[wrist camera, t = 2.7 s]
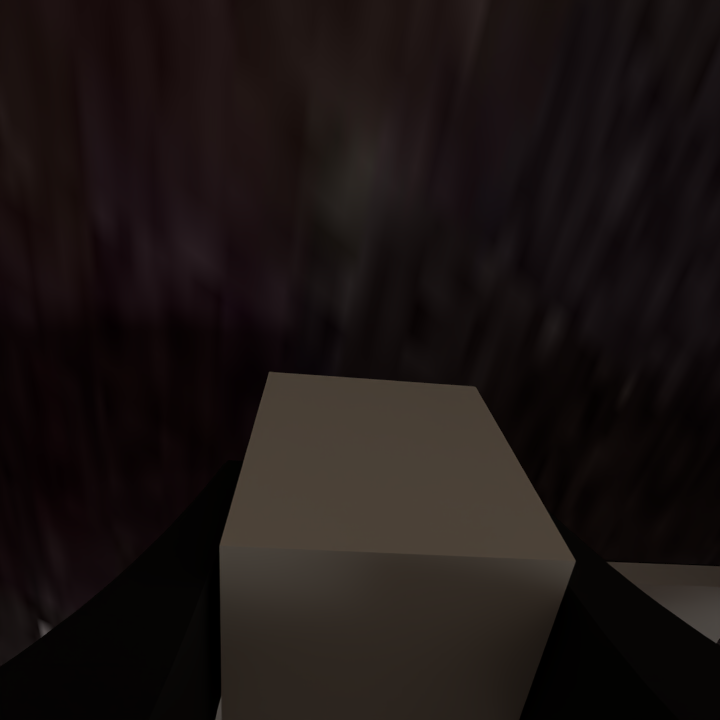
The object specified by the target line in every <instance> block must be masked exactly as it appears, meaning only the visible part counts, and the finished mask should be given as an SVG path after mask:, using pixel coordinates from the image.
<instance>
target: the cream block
mask: <svg viewBox="0 0 720 720" xmlns="http://www.w3.org/2000/svg"><path fill="white" fill-rule="evenodd" d="M219 551H220V629H221V708H222V720H519V719H520V716H521V713H522V710H523V707H524V705H525V702H526V699H527V696H528V694H529V691H530V688H531V685H532V682H533V680H534V677H535V674H536V671H537V668H538V666H539V663H540V660H541V657H542V654H543V652H544V649H545V646H546V643H547V640H548V638H549V635H550V632H551V629H552V626H553V624H554V621H555V618H556V615H557V612H558V610H559V607H560V604H561V601H562V598H563V596H564V593H565V590H566V587H567V584H568V582H569V579H570V576H571V573H572V570H573V568H574V565H575V562H576V560H575V559H574V557H573V555H572V553H571V552H570V550H569V548H568V546H567V545H566V543H565V541H564V540H563V538H562V536H561V534H560V533H559V531H558V529H557V527H556V526H555V524H554V522H553V520H552V519H551V517H550V515H549V513H548V512H547V510H546V508H545V507H544V505H543V503H542V501H541V500H540V498H539V496H538V494H537V493H536V491H535V489H534V487H533V486H532V484H531V482H530V480H529V479H528V477H527V475H526V474H525V472H524V470H523V468H522V467H521V465H520V463H519V461H518V460H517V458H516V456H515V454H514V453H513V451H512V449H511V447H510V446H509V444H508V442H507V441H506V439H505V437H504V435H503V434H502V432H501V430H500V428H499V427H498V425H497V423H496V421H495V420H494V418H493V416H492V414H491V413H490V411H489V409H488V407H487V406H486V404H485V402H484V401H483V399H482V397H481V395H480V394H479V392H478V390H477V388H476V387H473V386H459V385H445V384H431V383H417V382H403V381H389V380H375V379H361V378H347V377H333V376H319V375H305V374H291V373H277V372H269V374H268V378H267V381H266V385H265V388H264V392H263V395H262V399H261V402H260V406H259V409H258V413H257V416H256V420H255V423H254V427H253V430H252V434H251V437H250V441H249V444H248V448H247V451H246V455H245V458H244V462H243V465H242V469H241V472H240V476H239V479H238V483H237V486H236V490H235V493H234V497H233V500H232V504H231V507H230V511H229V514H228V518H227V521H226V525H225V528H224V532H223V535H222V539H221V542H220V546H219Z"/></svg>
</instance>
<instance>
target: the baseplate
mask: <svg viewBox="0 0 720 720" xmlns="http://www.w3.org/2000/svg"><path fill="white" fill-rule="evenodd" d="M607 563H608V564H610V565H611V566H612V567H613V568H614V569H616V570H617V571H618V572H619V573H621V574H622V575H623V576H624V577H626V578H627V579H628V580H629V581H631V582H632V583H633V584H634V585H636V586H637V587H638V588H639V589H641V590H642V591H643V592H645V593H646V594H647V595H649V596H650V597H651V598H653V599H654V600H655V601H657V602H658V603H659V604H661V605H662V606H663V607H665V608H666V609H668V610H669V611H670V612H672V613H673V614H675V615H676V616H677V617H679V618H680V619H682V620H683V621H685V622H686V623H687V624H689V625H690V626H692V627H693V628H694V629H696V630H697V631H699V632H700V633H702V634H703V635H705V636H706V637H708V638H709V639H711V640H712V641H714V642H715V643H717V642H718V640H719V638H720V566H699V565H674V564H649V563H623V562H607ZM215 720H222V708H221V699H220V703H219V706H218V710H217V715H216V719H215Z"/></svg>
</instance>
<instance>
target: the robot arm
mask: <svg viewBox="0 0 720 720" xmlns="http://www.w3.org/2000/svg"><path fill="white" fill-rule="evenodd" d="M243 462H244V461H232V460H229V461H227V462H226V463H225V464H223V466H222V467H221V468H220V469H219V471H218V472H217V473H216V475H215V476H214V477H213V478H212V480H211V481H210V482H209V483H208V484H207V486H206V487H205V488H204V489H203V490H202V492H201V493H200V494H199V495H198V496H197V497H196V498H195V500H194V501H193V502H192V503H191V504H190V505H189V506H188V507H187V508H186V510H185V511H184V512H183V513H182V514H181V515H180V516H179V517H178V518H177V519H176V520H175V521H174V523H173V524H172V525H171V526H170V527H169V528H168V529H167V530H166V531H165V532H164V533H163V534H162V535H161V536H160V537H159V538H158V539H157V540H156V541H155V542H154V543H153V544H152V545H151V546H150V547H149V548H148V549H147V550H146V551H145V552H143V553H142V554H141V555H140V556H139V557H138V558H137V559H136V560H135V561H134V562H133V563H132V564H131V565H130V566H129V567H128V568H127V569H126V570H124V571H123V572H122V573H121V574H120V575H119V576H118V577H117V578H115V579H114V580H113V581H112V582H111V583H110V584H108V585H107V586H106V587H105V588H104V589H103V590H101V591H100V592H99V593H98V594H97V595H95V596H94V597H93V598H92V599H91V600H89V601H88V602H87V603H86V604H85V605H83V606H82V607H81V608H80V609H78V610H77V611H76V612H74V613H73V614H72V615H71V616H69V617H68V618H67V619H65V620H64V621H63V622H61V623H60V624H59V625H57V626H56V627H55V628H53V629H52V630H51V631H49V632H48V633H47V634H46V635H44V636H43V637H42V638H40V639H39V640H38V641H36V642H35V643H33V644H32V645H31V646H29V647H28V648H27V649H25V650H24V651H22V652H21V653H20V654H18V655H17V656H15V657H14V658H12V659H11V660H10V661H8V662H7V663H5V664H4V665H2V666H1V667H0V720H215V719H216V715H217V710H218V706H219V703H220V699H221V629H220V551H219V546H220V542H221V539H222V535H223V532H224V528H225V525H226V521H227V518H228V514H229V511H230V507H231V504H232V500H233V497H234V493H235V490H236V486H237V483H238V479H239V476H240V472H241V469H242V465H243ZM546 510H547V509H546ZM547 512H548V513H549V515H550V517H551V519H552V520H553V522H554V524H555V526H556V527H557V529H558V531H559V533H560V534H561V536H562V538H563V540H564V541H565V543H566V545H567V546H568V548H569V550H570V552H571V553H572V555H573V557H574V559H575V560H576V562H575V565H574V568H573V570H572V573H571V576H570V579H569V582H568V584H567V587H566V590H565V593H564V596H563V598H562V601H561V604H560V607H559V610H558V612H557V615H556V618H555V621H554V624H553V626H552V629H551V632H550V635H549V638H548V640H547V643H546V646H545V649H544V652H543V654H542V657H541V660H540V663H539V666H538V668H537V671H536V674H535V677H534V680H533V682H532V685H531V688H530V691H529V694H528V696H527V699H526V702H525V705H524V707H523V710H522V713H521V716H520V719H519V720H720V645H718V644H717V643H715V642H714V641H712V640H711V639H709V638H708V637H706V636H705V635H703V634H702V633H700V632H699V631H697V630H696V629H694V628H693V627H692V626H690V625H689V624H687V623H686V622H685V621H683V620H682V619H680V618H679V617H677V616H676V615H675V614H673V613H672V612H670V611H669V610H668V609H666V608H665V607H663V606H662V605H661V604H659V603H658V602H657V601H655V600H654V599H653V598H651V597H650V596H649V595H647V594H646V593H645V592H643V591H642V590H641V589H639V588H638V587H637V586H636V585H634V584H633V583H632V582H631V581H629V580H628V579H627V578H626V577H624V576H623V575H622V574H621V573H619V572H618V571H617V570H616V569H614V568H613V567H612V566H611V565H610V564H608V563H607V562H606V561H605V560H604V559H602V558H601V557H600V556H599V555H598V554H596V553H595V552H594V551H593V550H592V549H591V548H589V547H588V546H587V545H586V544H585V543H584V542H583V541H581V540H580V539H579V538H578V537H577V536H576V535H575V534H574V533H572V532H571V531H570V530H569V529H568V528H567V527H566V526H565V525H563V524H562V523H561V522H560V521H559V520H558V519H557V518H556V517H555V516H554V515H552V514H551V513H550V512H549V511H548V510H547Z"/></svg>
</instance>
